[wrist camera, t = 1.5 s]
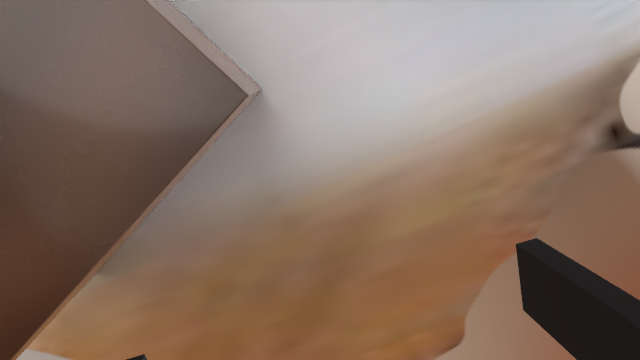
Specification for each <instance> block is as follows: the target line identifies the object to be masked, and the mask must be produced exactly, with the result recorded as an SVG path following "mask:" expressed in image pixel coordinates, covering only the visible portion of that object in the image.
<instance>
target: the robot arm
mask: <svg viewBox="0 0 640 360" xmlns="http://www.w3.org/2000/svg"><path fill="white" fill-rule="evenodd" d="M516 250H517V259H518V267H519V276H520V285H521V294H522V303H523V310H524V311H525V312H526V313H527V314H528V315H529V316H530V317H531V318H532V319H534V320H535V321H536V322H537V323H538V324H539V325H540V326H541V327H542V328H543V329H544V330H545V331H547V332H548V333H549V334H550V335H551V336H552V337H553V338H554V339H555V340H556V341H557V342H559V344H561V345H562V346H563V347H564V348H565V349H566V350H567V351H568V352H569V353H570V354H571V355H573V356H574V357H575V358H576V359H577V360H640V300H638V299H636V298H635V297H633V296H632V295H630V294H628V293H627V292H625V291H623V290H621V289H620V288H618V287H617V286H615V285H613V284H612V283H610V282H608V281H607V280H605V279H603V278H602V277H600V276H598V275H597V274H595V273H593V272H592V271H590V270H589V269H587V268H585V267H583V266H582V265H580V264H579V263H577V262H575V261H574V260H572V259H570V258H568V257H567V256H565V255H564V254H562V253H560V252H558V251H557V250H555V249H554V248H552V247H550V246H549V245H547V244H545V243H544V242H542V241H541V240H539V239H537V238H535V239H532V240H528V241H525V242H522V243H518V244H516ZM127 360H147V359H146V357H145V355H144V354H143V355H140V356H137V357H133V358H130V359H127Z"/></svg>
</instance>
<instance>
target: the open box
mask: <svg viewBox="0 0 640 360" xmlns="http://www.w3.org/2000/svg"><path fill="white" fill-rule="evenodd" d="M261 90H262V88H261V87H260V86H259V85H258V84H257V83H256V82H255V81H254V80H253V79H252V78H250V77H249V76H248V75H247V74H246V73H245V72H244V71H243V70H242V69H241V68H240V67H239V66H238V65H237V64H236V63H235V62H233V61H232V60H231V59H230V58H229V57H228V56H227V55H226V54H225V53H224V52H223V51H222V50H221V49H220V48H219V47H217V46H216V45H215V44H214V43H213V42H212V41H211V40H210V39H209V38H208V37H207V36H206V35H205V34H204V33H203V32H202V31H200V30H199V29H198V28H197V27H196V26H195V25H194V24H193V23H192V22H191V21H190V20H189V19H188V18H187V17H186V16H184V15H183V14H182V13H181V12H180V11H179V10H178V9H177V8H176V7H175V6H174V5H173V4H172V3H171V2H170V1H169V0H0V360H16V359H17V358H18V356H19V355H20V354H21V353H22V352H23V351H24V350H25V349H26V348H27V347H28V346H29V345H30V344H31V342H32V341H33V340H34V339H35V338H36V337H37V336H38V335H39V334H40V333H41V332H42V331H43V330H44V329H45V327H46V326H47V325H48V324H49V323H50V322H51V321H52V320H53V319H54V318H55V317H56V316H57V315H58V314H59V312H60V311H61V310H62V309H63V308H64V307H65V306H66V305H67V304H68V303H69V302H70V301H71V300H72V298H73V297H74V296H75V295H76V294H77V293H78V292H79V291H80V290H81V289H82V288H83V287H84V286H85V285H86V283H87V282H88V281H89V280H90V279H91V278H92V277H93V276H94V275H95V274H96V273H97V272H98V270H99V269H100V268H101V267H102V266H103V265H104V264H105V263H106V262H107V260H108V259H109V258H110V257H111V256H112V255H113V254H114V253H115V252H116V250H117V249H118V248H119V247H120V246H121V245H122V244H123V243H124V242H125V241H126V239H127V238H128V237H129V236H130V235H131V234H132V233H133V232H134V231H135V229H136V228H137V227H138V226H139V225H140V224H141V223H142V222H143V221H144V219H145V218H146V217H147V216H148V215H149V214H150V213H151V212H152V211H153V209H154V208H155V207H156V206H157V205H158V204H159V203H160V202H161V201H162V199H163V198H164V197H165V196H166V195H167V194H168V193H169V192H170V191H171V189H172V188H173V187H174V186H175V185H176V184H177V183H178V182H179V181H180V179H181V178H182V177H183V176H184V175H185V174H186V173H187V172H188V171H189V170H190V168H191V167H192V166H193V165H194V164H195V163H196V162H197V161H198V160H199V158H200V157H201V156H202V155H203V154H204V153H205V152H206V151H207V150H208V148H209V147H210V146H211V145H212V144H213V143H214V142H215V141H216V140H217V138H218V137H219V136H220V135H221V134H222V133H223V132H224V131H225V130H226V128H227V127H228V126H229V125H230V124H231V123H232V122H233V121H234V120H235V118H236V117H237V116H238V115H239V114H240V113H241V112H242V111H243V110H244V108H245V107H246V106H247V105H248V104H249V103H250V102H251V101H252V100H253V98H254V97H255V96H256V95H257V94H258V93H259V92H260V91H261Z"/></svg>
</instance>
